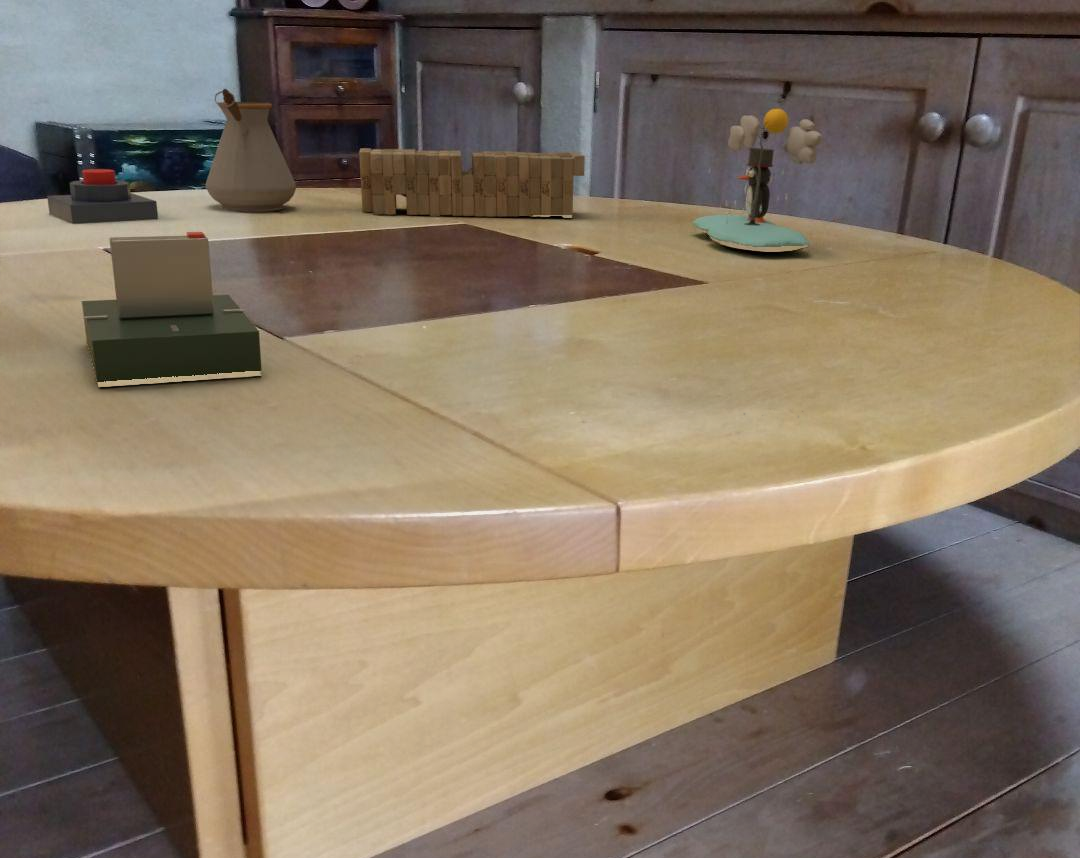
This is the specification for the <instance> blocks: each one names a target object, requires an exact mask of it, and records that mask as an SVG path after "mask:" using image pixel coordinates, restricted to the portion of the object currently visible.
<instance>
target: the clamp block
mask: <svg viewBox="0 0 1080 858" xmlns="http://www.w3.org/2000/svg"><path fill="white" fill-rule="evenodd" d="M213 306H214V314H208V315H188V316H168V317H148V318H128V319H120V317H119V315H118V309H117V300H116V299H97V300H82V301H81V307H82V315H83V324H84V331H85V338H86V345H87V344H88V345H87V349H88V348H89V349H88V352H89V351H90V354H89V356H90V355H91V358H90V360H91V359H92V362H91V364H92V363H93V366H92V368H93V367H94V370H93V372H94V371H95V374H94V376H95V375H96V378H95V380H96V379H97V382H104V381H105V382H106V381H117V380H132V379H145V378H146V379H147V378H158V377H160V378H161V377H172V376H174V377H175V376H176V377H178V376H192V375H194V376H195V375H204V374H205V375H207V374H217V373H218V374H219V373H232V372H245V371H261V370H263V369H262V357H261V356H262V355H261V339H260V331H259V330H258V328H257V327H256V326H255V324H254V323H253V322H252V320H250V319H249V317H248V316H247V315H246V314H245V312H246V309H245V308H240V307H239V305H238V304H237V303H236V302H235V301H234V300H233V298H232V297H231V296H230V295H229V294H215V295H214V294H213ZM97 382H96V383H97Z"/></svg>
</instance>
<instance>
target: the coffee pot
mask: <svg viewBox="0 0 1080 858" xmlns="http://www.w3.org/2000/svg"><path fill="white" fill-rule="evenodd" d="M219 94H222V96H223V97H222V100H223V101H221V102H218V101H217V96H218V95H219ZM214 102H215V104H216V105H217V106H218V107H219V108H220V110H221V111H222V113H223V115H224V116H225V118H226V122H225V124H224V127H223V130H222V133H221V136H220V139H219V142H218V146H217V147H216V148H217V149H216V151H215V155H214V157H213V160H212V163H211V166H210V170H209V173H208V175H207V178H206V182H205V189H206V190H207V192H208V194H209V196H210V197H211V198H212V199H213V200H214V201H216V202H217V203H219V204H220V205H222V207H223V208H224V209H223V208H222V209H223V210H227V209H228V210H227V211H233V210H234V212H252V213H253V212H256V213H257V212H274V211H280V210H282V209H283V210H284V208H283V207H284V205H285V204H287V203H288V202H290V201H291V199H292V198H293V197H294V195H295V193H296V190H297V184H296V182H295V179H294V177H293V175H292V172H291V170H290V168H289V166H288V164H287V161H286V159H285V156H284V155H283V153H282V150H281V147H280V146H279V144H278V141H277V140H276V137H275V135H274V133H273V130H272V129H271V126H270V123H269V122H268V118H269V112H270V109H271V108H273V105H272V103H269V102H255V101H236V98H235V95H234V93H232V92H231V91H230V90H228V89H227V88H223V89H222V90H221V91H218V92H217V93H215V95H214Z"/></svg>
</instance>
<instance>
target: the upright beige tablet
mask: <svg viewBox="0 0 1080 858" xmlns="http://www.w3.org/2000/svg"><path fill="white" fill-rule="evenodd" d="M109 247H110V256H111V264H112V265H111V266H112V274H113V281H114V283H113V284H114V291H115V298H116V299H115V300H117V309H118V315H119V317H120V319H128V318H148V317H168V316H188V315H208V314H214V306H213V295H214V294H213V283H212V271H211V269H212V268H211V258H210V246H209V238H208V237H207V236H206V235H205V233H203V231H187V232H186V235H160V236H154V235H153V236H118V237H109Z"/></svg>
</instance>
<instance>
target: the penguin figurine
mask: <svg viewBox="0 0 1080 858" xmlns="http://www.w3.org/2000/svg"><path fill="white" fill-rule="evenodd" d="M739 122H740V123H739V125H732V126H731V127H730V130H729V134H730V136H729V138H728V142H727V145H728V146H727V147H728V148H729V149H730V150H733V151H735V152H737V153H739V152H741V150H742V148H743V146H745V147H746V148H749V156H748V162H747V163H746V166H747V169H746V170H745V175H742V176H739V177H735V179H736V180H743V181H744V180H745V181H748V183H746V184H745V186H744V188H743V189H744V190H743V193H746V196H745V199H744V202H745V203H744V204H745V207H742V211H741V212H742V214H744V213H745V212H746V215H736V214H731V213H732V212H731V210H728V214H712V215H710V214H709V215H704V216H701V217H698V218H696V219H694V220H693V222H692V223H691V224H692V227H693V228H694V227H696V228H699V229H701V230H706V231H708V235H709V236H710V237H712V238H714V239H716V240H719V241H725V242H732V243H737V244H741V245H745V246H753V247H781V246H804V245H808V246H809V245H810V242H809V239H808V238H807V236H806V235H804V234H803V233H802V232H799V231H798V230H795V229H792V228H790V227H785V226H782V225H778V224H776V223H774V222H773V221H771V220H768V219H765V218H764V217H765V216H766V214H767V213H768V210H769V205H770V196H771V191H770V187H769V185H768V184H769V183H770V185H771V183H772V182H773V180H772V179H773V178H774V177H775V173H776V172H772V173H771V170H770V168H773V167H774V165H773V161H774V160H773V159H774V151H775V149H774V148H764V147H765V146H767V144H765V145H763V144H762V143H763V142H764V141H767V138H765V139H763V137H764V135H765V132H768V133H770V134H775V135H776V134H781V133H782V132H784V131H785V130H786V128H787V127H788V124H789V117H788V114H787V112H785V110H784V109H781V108H772V109H770V110H769V111H767V112H766V114H765V116H764V119H763V127H761V126H760V125H761V124H760V120H759V119H758V118H757V116H754V115H751V114H750V115H743V116H742V117H741V118H740V121H739ZM798 125H799V126H792V127H790V128H789V129H788V130H787V140H786V142H784V143H783V145H782V150H783V152H785V153H786V154H789V159H790V160H791V162H792V163H793V164H797V165H803V164H814V163H815V162H816V160H817V157H818V150H817V149H816V148H817V146H818V145H820V144H821V143H822V142H823V135H822V134H821V133H820V131H817V130H816V131H815V130H814V129H815V123H814V122H813V121H812V120H810V119H806V118H804V119H801V120H800V121H799V124H798ZM760 129H762V132H761V133H762V134H761V136H760V137H759V132H760ZM758 137H759V142H757V138H758ZM756 142H757V144H759V146H760V147H754V146H755V144H756ZM711 169H712V168H708V173H709V174H710V173H711ZM784 173H785V170H784V168H783V169H782V170H781V176H782V177H781V178H782V179H783V178H784V175H785V174H784ZM788 196H789V194H787V193H785V195H784V199H785V200H788ZM779 198H780V197H779V195H777V196H776V200H775V202H776V203H779ZM728 203H729V202H728V200H726V201H725V207H727V206H728ZM734 206H737V199H735V200H734ZM718 207H719V210H718V211H719V212H721V211H722V210H721V208H722V206H721V204H720V206H718ZM709 236H708V237H709ZM710 237H709V238H710Z"/></svg>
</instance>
